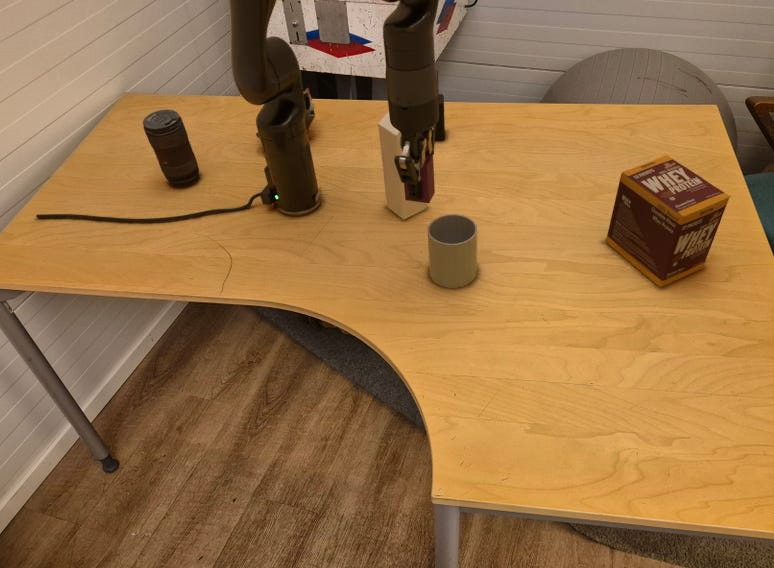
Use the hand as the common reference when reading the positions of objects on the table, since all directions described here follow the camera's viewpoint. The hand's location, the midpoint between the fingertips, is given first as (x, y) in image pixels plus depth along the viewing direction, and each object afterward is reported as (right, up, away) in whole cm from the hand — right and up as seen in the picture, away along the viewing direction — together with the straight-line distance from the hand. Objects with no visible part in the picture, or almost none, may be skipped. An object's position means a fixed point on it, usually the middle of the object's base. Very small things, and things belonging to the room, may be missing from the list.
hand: (419, 191), depth 105 cm
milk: (-3, +4, +27) cm, 27 cm away
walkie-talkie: (+5, +25, +45) cm, 52 cm away
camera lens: (-53, +13, +39) cm, 67 cm away
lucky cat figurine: (-31, +26, +48) cm, 63 cm away
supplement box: (+44, -9, +13) cm, 47 cm away
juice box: (0, -1, +1) cm, 1 cm away
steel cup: (+6, -12, +13) cm, 18 cm away
